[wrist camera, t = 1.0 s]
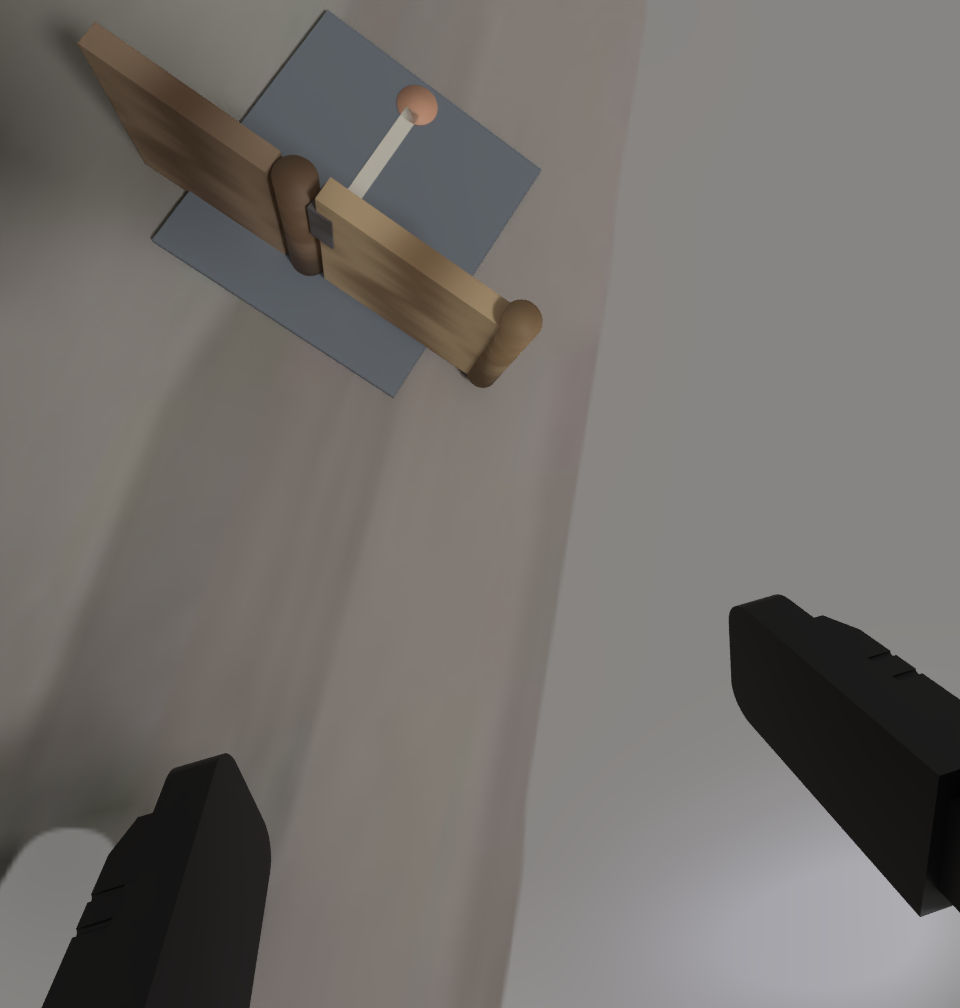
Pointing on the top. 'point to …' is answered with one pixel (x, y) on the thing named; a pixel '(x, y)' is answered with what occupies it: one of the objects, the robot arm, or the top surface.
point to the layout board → (359, 192)
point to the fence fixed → (208, 150)
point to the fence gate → (418, 287)
